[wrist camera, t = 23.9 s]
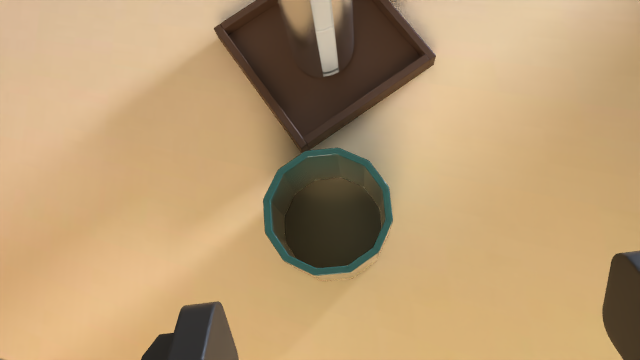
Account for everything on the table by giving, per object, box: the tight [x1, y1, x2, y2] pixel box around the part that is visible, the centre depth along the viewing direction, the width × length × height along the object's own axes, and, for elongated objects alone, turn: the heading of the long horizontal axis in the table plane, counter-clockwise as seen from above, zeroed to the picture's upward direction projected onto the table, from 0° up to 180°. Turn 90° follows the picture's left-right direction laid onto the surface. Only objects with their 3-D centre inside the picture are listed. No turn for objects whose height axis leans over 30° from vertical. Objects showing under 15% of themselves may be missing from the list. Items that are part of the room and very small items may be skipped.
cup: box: [263, 148, 393, 281], centre depth 46 cm, size 11×11×8 cm
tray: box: [214, 0, 436, 153], centre depth 54 cm, size 17×17×2 cm
